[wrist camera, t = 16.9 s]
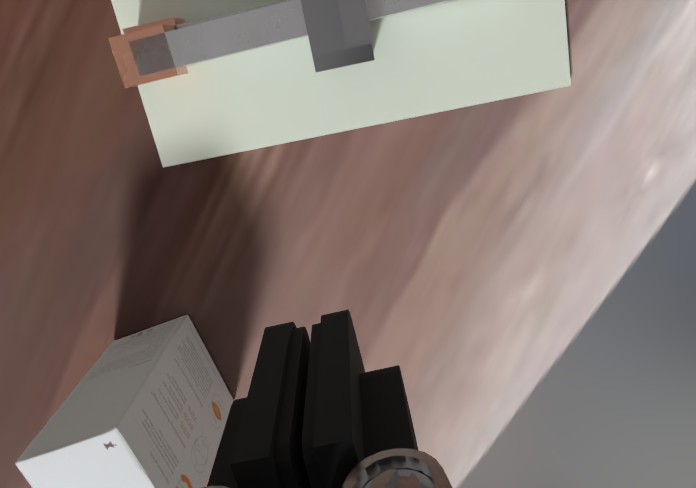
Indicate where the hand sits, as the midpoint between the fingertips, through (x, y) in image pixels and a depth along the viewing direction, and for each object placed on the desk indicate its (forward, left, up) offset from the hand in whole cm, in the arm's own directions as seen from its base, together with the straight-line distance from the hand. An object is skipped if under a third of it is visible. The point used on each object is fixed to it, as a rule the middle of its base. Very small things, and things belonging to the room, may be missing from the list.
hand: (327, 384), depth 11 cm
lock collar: (+1, +8, -27) cm, 29 cm away
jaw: (-2, +8, -24) cm, 25 cm away
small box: (-16, -14, -28) cm, 35 cm away
